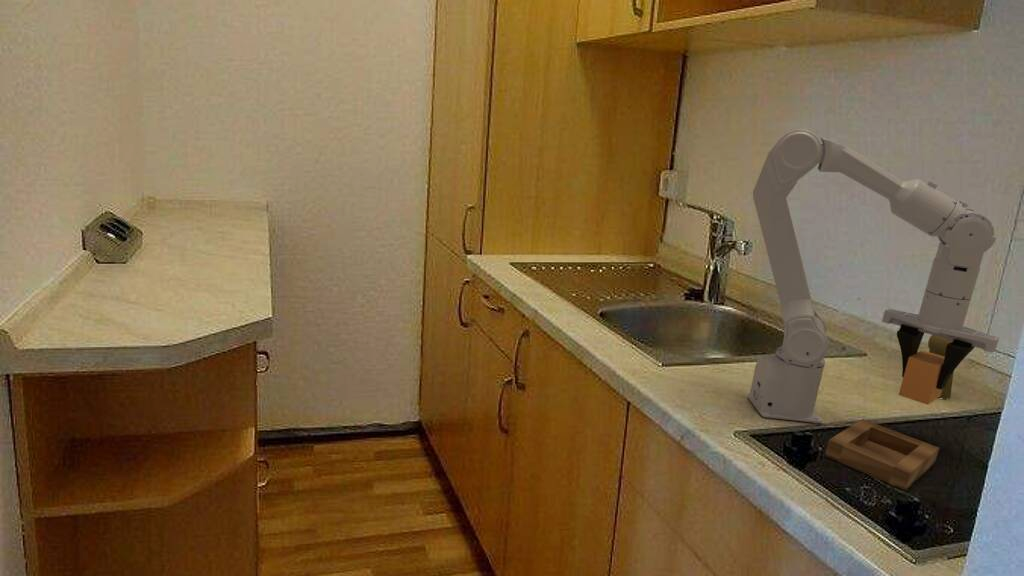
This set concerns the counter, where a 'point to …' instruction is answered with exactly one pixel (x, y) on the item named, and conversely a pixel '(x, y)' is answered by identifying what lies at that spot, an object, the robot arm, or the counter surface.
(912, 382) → the tall wooden block
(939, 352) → the cork
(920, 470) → the well
